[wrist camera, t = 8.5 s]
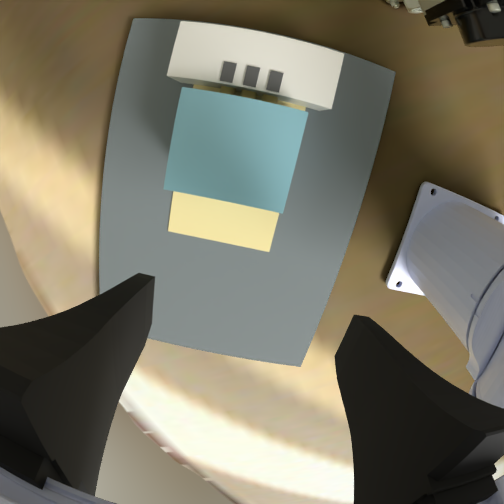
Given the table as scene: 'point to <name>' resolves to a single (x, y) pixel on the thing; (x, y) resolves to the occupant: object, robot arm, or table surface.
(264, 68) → the header
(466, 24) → the pneumatic valve
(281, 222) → the mat
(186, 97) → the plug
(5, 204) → the table surface
